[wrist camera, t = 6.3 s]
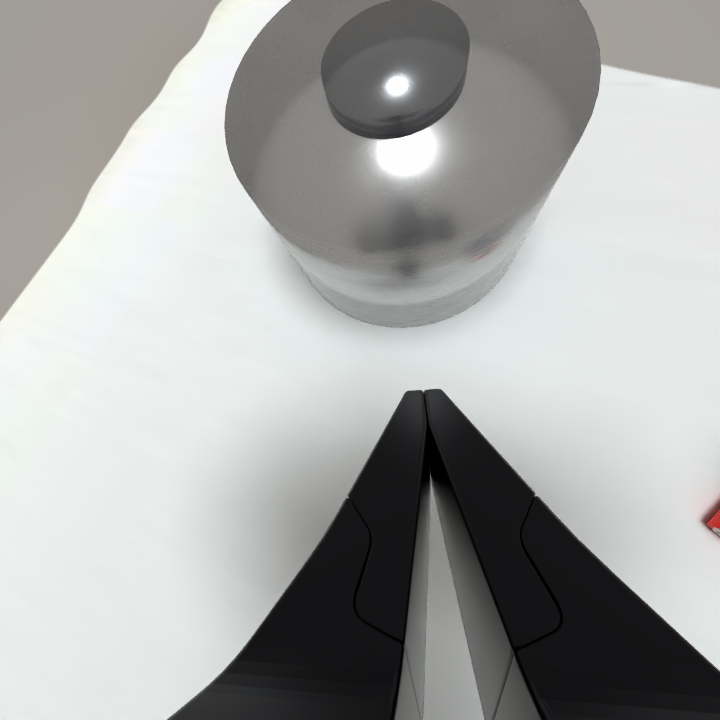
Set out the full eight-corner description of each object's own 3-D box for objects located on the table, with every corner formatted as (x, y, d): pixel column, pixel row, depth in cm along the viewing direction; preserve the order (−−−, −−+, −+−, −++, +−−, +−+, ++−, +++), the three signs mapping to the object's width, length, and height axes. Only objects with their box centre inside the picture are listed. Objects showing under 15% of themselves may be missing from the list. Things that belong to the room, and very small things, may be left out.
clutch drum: (449, 370, 21) (481, 308, 10) (260, 268, 25) (145, 149, 14) (562, 172, 22) (694, -60, 12) (367, 107, 26) (334, -109, 16)
